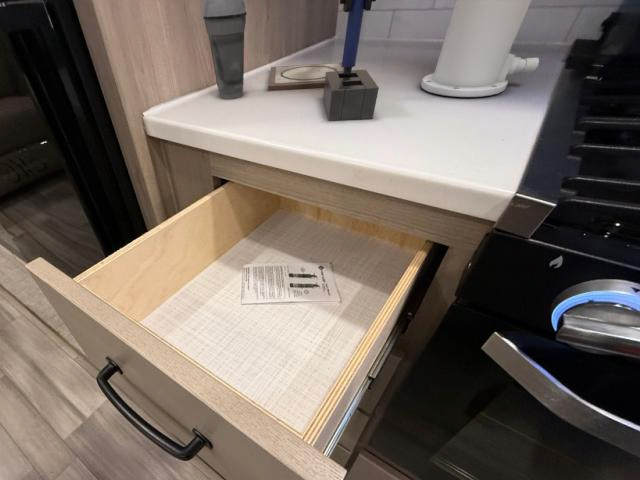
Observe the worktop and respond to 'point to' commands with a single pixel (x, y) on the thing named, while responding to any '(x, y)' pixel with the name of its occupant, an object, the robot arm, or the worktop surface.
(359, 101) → the block
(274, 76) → the drawing board
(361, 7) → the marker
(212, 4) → the beverage cup
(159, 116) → the worktop surface
